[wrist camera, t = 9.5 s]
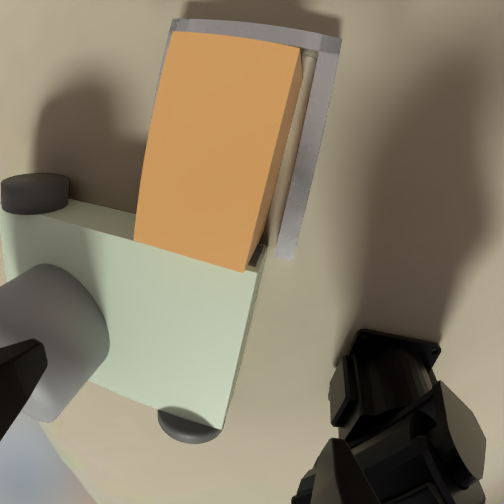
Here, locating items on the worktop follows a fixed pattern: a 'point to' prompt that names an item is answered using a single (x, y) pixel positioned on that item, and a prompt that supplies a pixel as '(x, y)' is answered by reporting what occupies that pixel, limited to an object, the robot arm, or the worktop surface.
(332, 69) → the bracket
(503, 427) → the worktop surface
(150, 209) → the tan wooden brick
